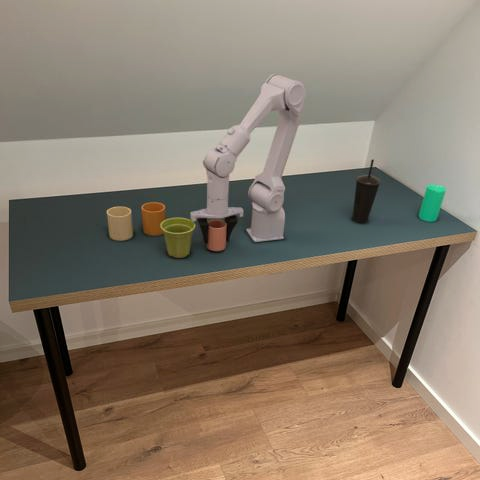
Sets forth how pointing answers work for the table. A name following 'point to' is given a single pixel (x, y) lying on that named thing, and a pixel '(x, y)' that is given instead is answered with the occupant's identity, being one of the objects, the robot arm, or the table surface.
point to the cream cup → (120, 223)
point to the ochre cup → (153, 218)
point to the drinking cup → (364, 196)
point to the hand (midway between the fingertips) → (216, 241)
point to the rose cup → (217, 235)
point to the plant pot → (178, 236)
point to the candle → (432, 202)
